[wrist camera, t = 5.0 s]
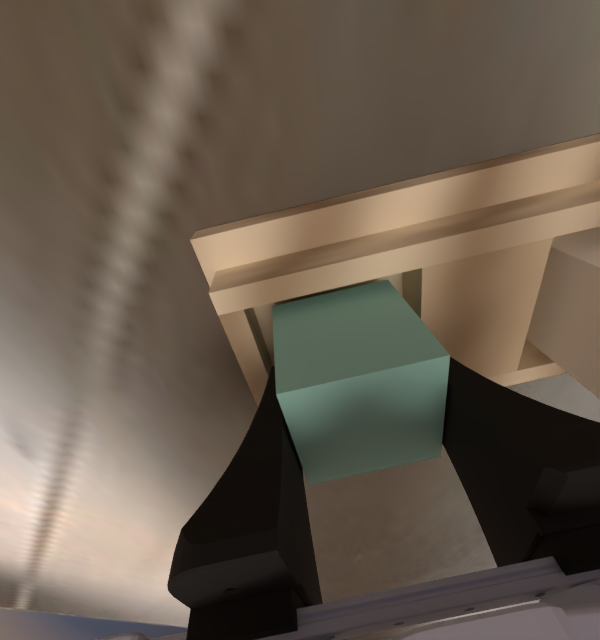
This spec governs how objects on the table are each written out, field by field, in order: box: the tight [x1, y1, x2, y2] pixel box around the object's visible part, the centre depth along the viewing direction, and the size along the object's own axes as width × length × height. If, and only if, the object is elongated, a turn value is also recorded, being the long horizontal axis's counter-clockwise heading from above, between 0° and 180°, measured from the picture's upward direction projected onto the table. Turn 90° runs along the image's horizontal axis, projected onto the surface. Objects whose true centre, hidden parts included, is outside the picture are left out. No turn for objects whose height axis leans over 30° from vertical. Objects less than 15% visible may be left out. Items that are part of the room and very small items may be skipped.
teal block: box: [272, 280, 450, 485], centre depth 12 cm, size 5×5×5 cm
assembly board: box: [190, 134, 600, 407], centre depth 15 cm, size 22×12×3 cm, turn 102°
